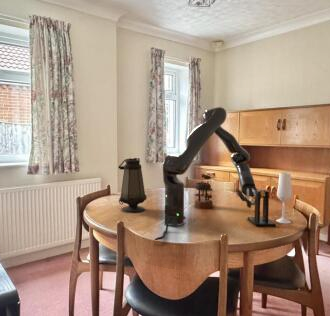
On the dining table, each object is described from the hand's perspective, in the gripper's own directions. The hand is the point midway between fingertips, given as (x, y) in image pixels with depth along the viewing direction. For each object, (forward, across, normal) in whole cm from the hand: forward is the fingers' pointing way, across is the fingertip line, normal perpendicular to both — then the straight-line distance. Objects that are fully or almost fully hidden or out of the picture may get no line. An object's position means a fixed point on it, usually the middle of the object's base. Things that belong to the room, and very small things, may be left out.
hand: (253, 207), depth 154 cm
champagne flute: (+9, +12, -2) cm, 15 cm away
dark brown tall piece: (-12, -22, +20) cm, 32 cm away
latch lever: (+1, 0, -6) cm, 6 cm away
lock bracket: (+11, 0, -4) cm, 12 cm away
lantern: (-7, -64, +15) cm, 66 cm away
